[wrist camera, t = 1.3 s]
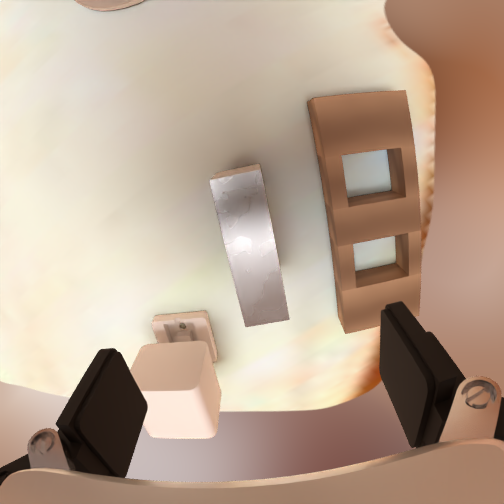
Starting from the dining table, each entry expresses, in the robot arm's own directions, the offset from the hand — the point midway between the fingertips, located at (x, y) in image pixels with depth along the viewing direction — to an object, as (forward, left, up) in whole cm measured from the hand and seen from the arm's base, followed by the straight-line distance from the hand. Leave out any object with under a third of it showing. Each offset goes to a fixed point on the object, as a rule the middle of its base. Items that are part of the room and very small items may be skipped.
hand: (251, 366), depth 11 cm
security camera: (+11, -9, -18) cm, 23 cm away
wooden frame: (+1, +10, -18) cm, 21 cm away
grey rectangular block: (0, 0, -18) cm, 18 cm away
